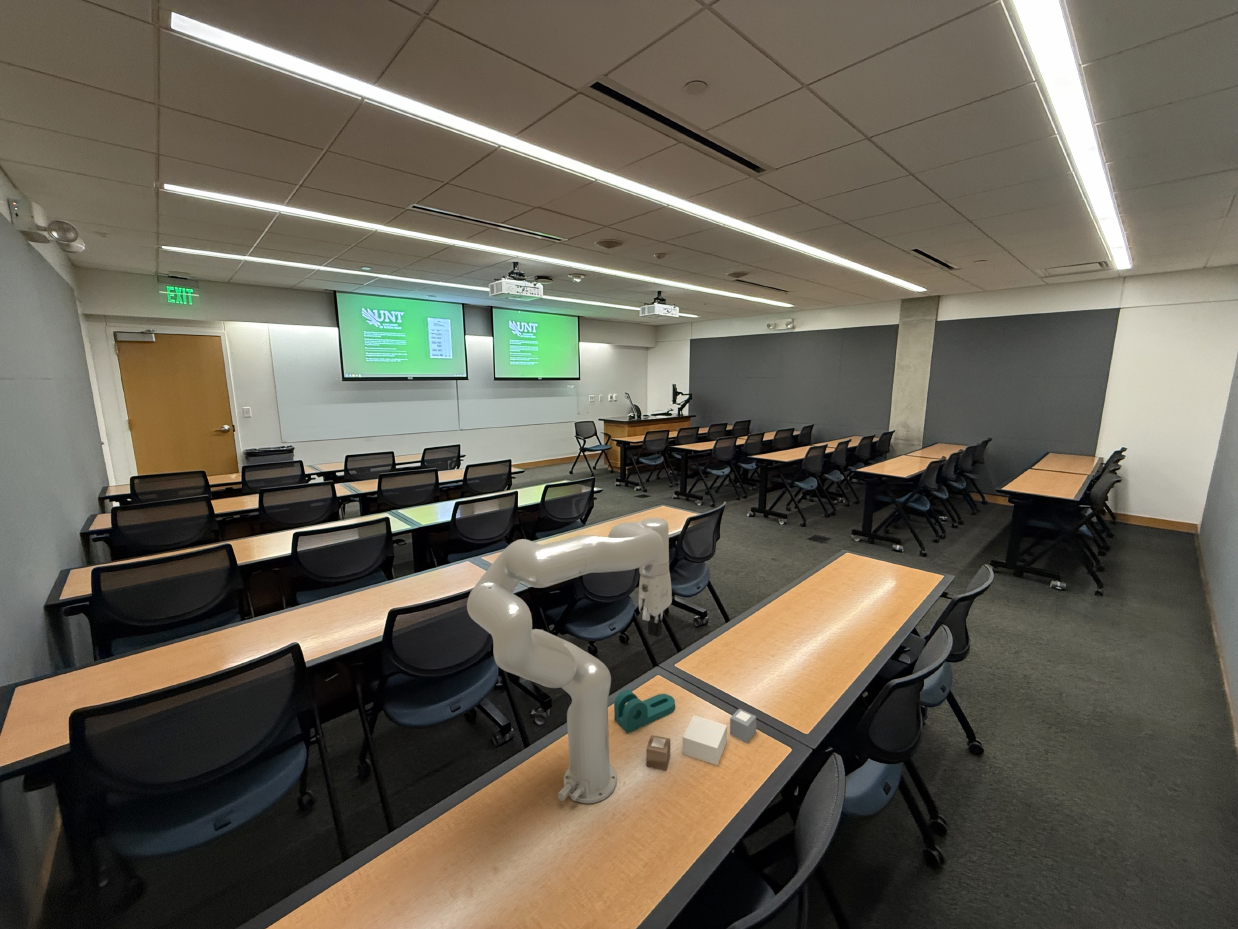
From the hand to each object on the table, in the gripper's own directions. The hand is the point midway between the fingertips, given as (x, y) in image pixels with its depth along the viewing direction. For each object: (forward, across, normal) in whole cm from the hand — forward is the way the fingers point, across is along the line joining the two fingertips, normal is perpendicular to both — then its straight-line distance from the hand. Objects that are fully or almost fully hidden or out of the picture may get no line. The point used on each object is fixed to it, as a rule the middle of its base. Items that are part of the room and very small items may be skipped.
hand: (655, 634), depth 124 cm
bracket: (+29, +6, +6) cm, 31 cm away
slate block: (+29, +12, -20) cm, 37 cm away
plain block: (+29, +2, -13) cm, 32 cm away
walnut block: (+29, -8, -5) cm, 31 cm away
